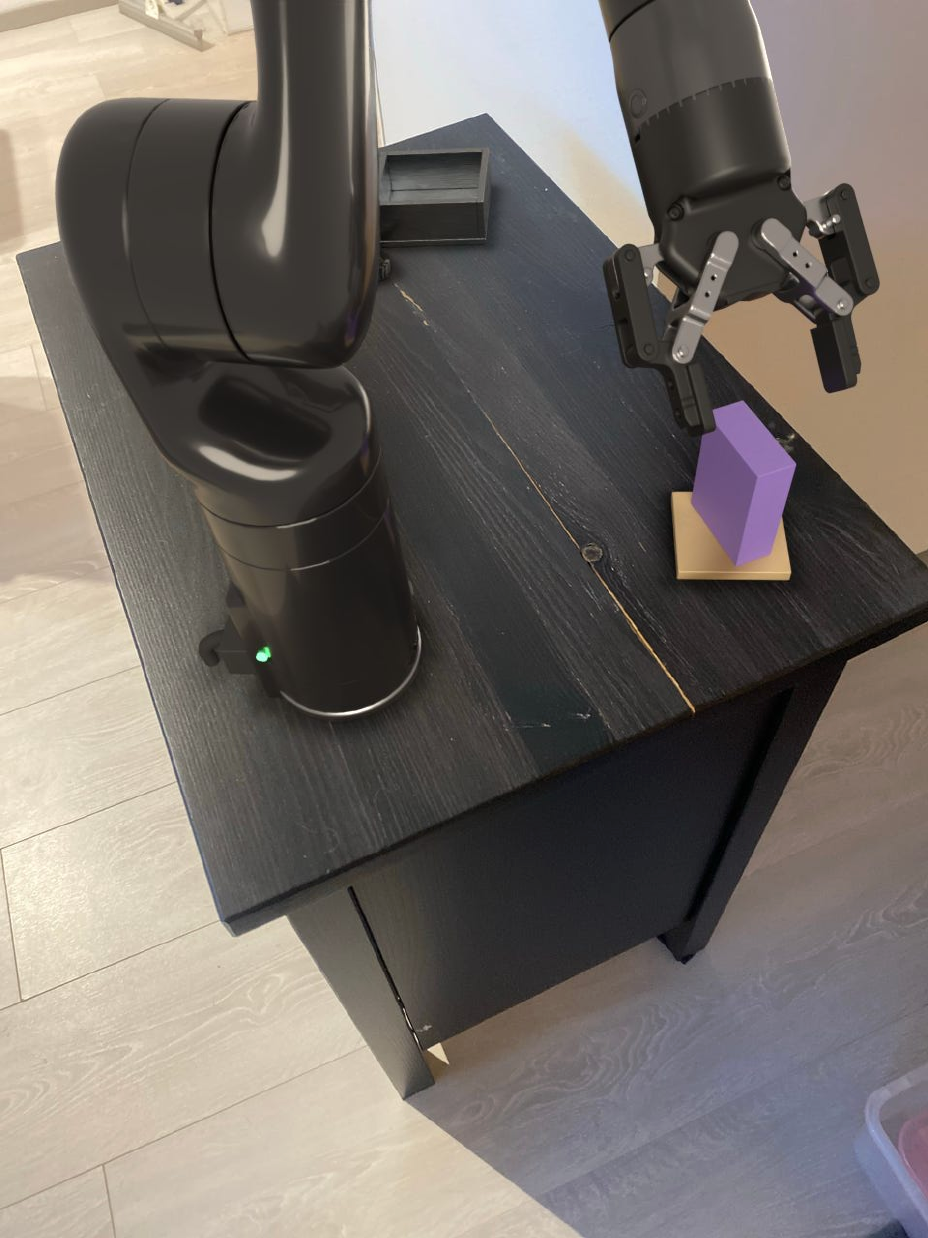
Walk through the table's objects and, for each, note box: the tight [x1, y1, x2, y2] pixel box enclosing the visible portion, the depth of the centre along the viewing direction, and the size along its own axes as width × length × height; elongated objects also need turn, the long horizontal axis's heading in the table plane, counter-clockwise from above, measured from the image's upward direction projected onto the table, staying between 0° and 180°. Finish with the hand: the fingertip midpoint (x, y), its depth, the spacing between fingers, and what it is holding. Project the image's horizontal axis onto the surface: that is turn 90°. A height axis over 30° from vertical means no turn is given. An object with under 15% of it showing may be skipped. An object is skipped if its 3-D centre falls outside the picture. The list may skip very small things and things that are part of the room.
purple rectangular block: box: [691, 400, 797, 566], centre depth 59 cm, size 2×6×8 cm, turn 20°
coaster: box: [670, 491, 792, 581], centre depth 62 cm, size 7×7×1 cm
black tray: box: [379, 147, 492, 248], centre depth 86 cm, size 10×9×4 cm
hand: (772, 412), depth 52 cm, fingers open, 8 cm apart
